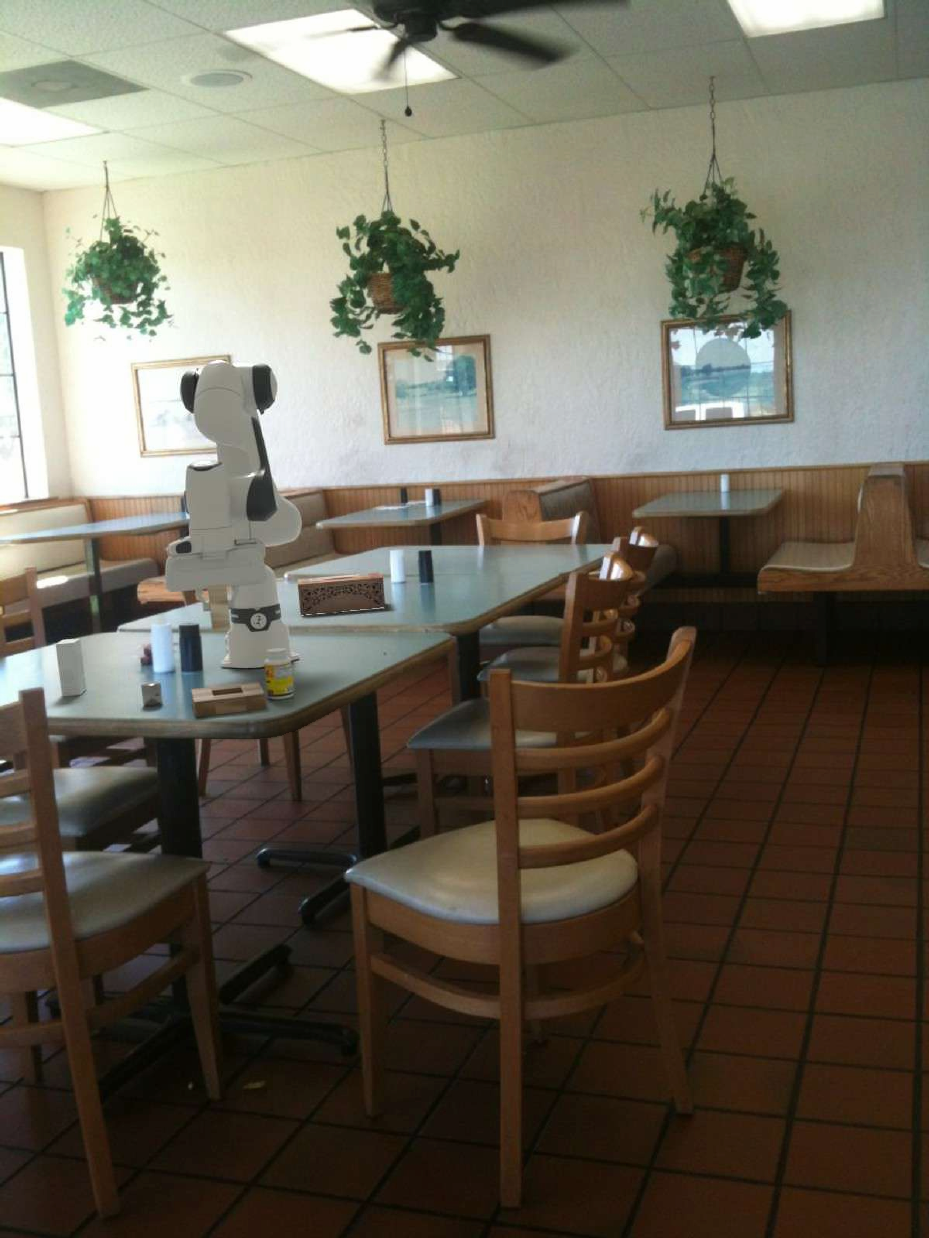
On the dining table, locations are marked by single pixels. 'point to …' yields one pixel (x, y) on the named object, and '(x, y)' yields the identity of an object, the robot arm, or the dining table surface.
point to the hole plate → (228, 699)
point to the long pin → (219, 607)
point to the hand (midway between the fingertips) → (219, 609)
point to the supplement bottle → (278, 674)
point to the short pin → (152, 694)
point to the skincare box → (71, 667)
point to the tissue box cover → (341, 593)
